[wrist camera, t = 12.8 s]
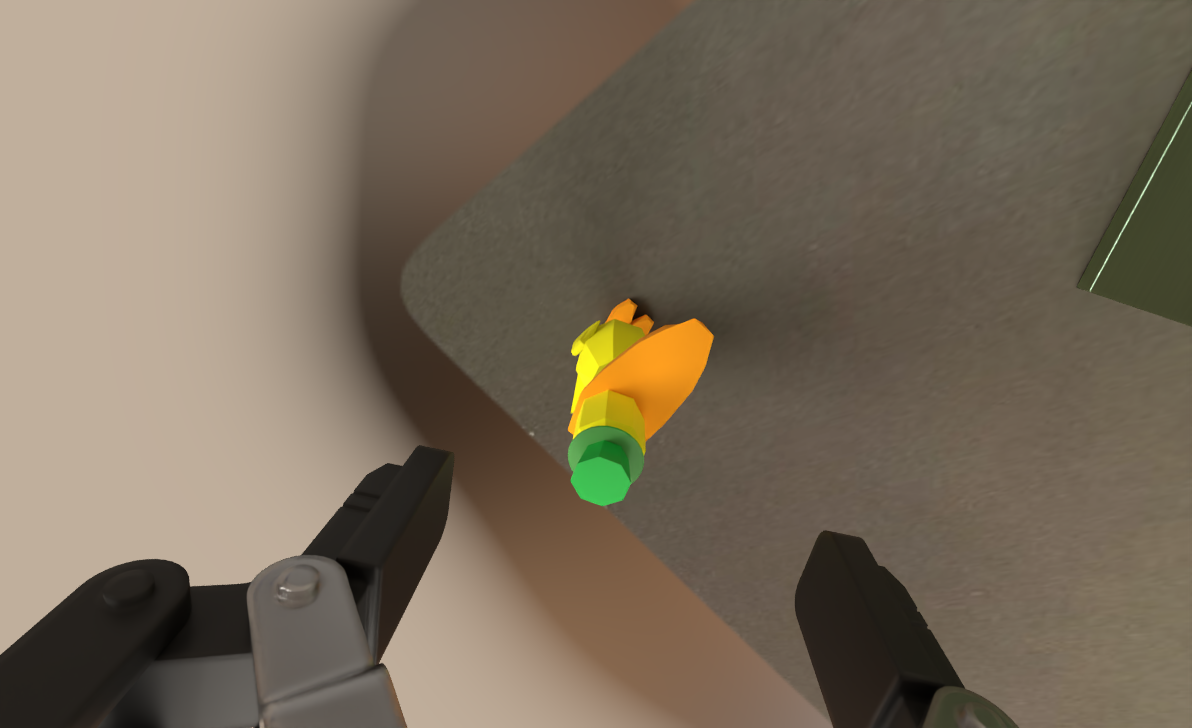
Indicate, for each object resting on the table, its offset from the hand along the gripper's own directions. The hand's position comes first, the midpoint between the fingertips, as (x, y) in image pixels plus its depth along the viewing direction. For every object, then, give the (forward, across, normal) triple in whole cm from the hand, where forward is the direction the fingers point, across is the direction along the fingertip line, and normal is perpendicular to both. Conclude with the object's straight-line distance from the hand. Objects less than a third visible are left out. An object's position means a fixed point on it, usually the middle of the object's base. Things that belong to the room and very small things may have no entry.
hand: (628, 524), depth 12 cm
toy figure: (+15, 0, 0) cm, 15 cm away
